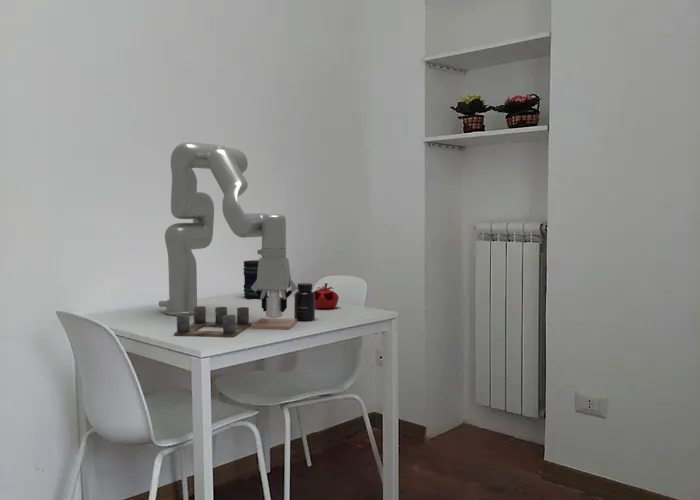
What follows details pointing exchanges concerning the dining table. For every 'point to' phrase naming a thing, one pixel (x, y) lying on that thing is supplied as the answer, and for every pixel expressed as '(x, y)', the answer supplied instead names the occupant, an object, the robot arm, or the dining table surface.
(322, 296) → the pomegranate
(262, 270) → the robot arm
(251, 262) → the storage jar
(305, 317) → the supplement bottle
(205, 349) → the dining table surface
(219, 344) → the dining table surface
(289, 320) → the terracotta tile
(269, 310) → the pepper shaker
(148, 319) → the dining table surface
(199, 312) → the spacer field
